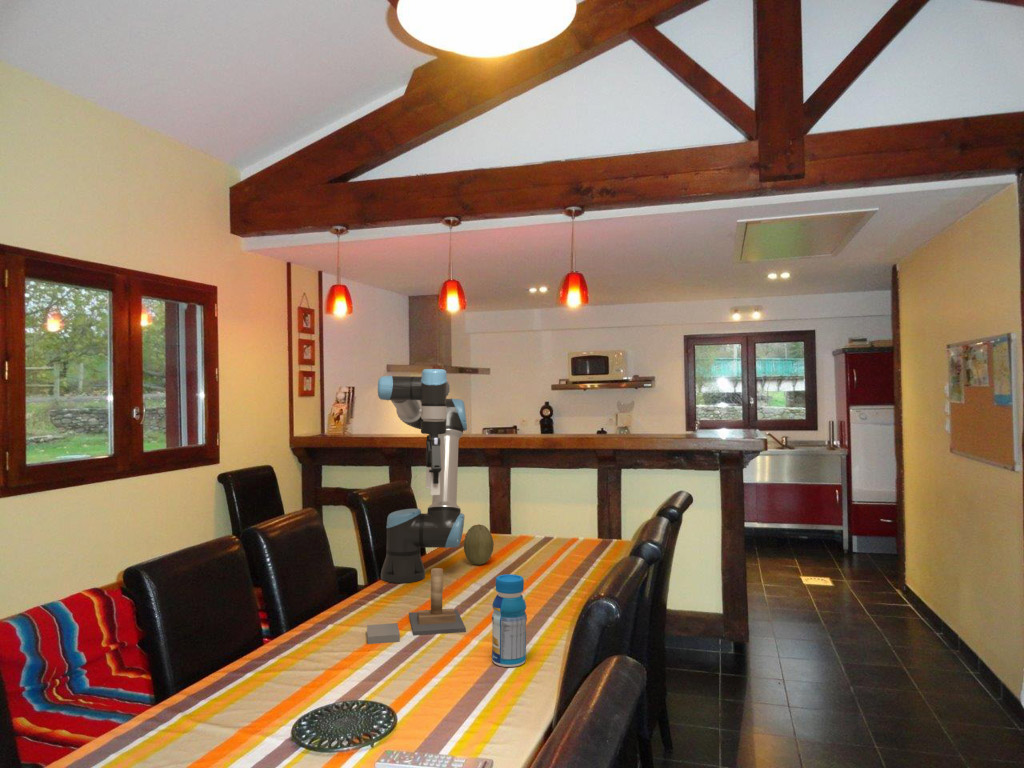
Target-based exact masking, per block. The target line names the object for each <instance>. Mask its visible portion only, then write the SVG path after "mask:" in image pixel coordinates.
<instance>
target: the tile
mask: <svg viewBox="0 0 1024 768" xmlns="http://www.w3.org/2000/svg"><path fill="white" fill-rule="evenodd" d="M366 626H367V627H366V635H367V636H366V637H367V645H373V644H374V645H376V644H389V643H401V637H400V636H401V635H400V629H399V623H398V622H391V623H378V624H377V623H376V624H367V625H366Z"/></svg>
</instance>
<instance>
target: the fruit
mask: <svg viewBox="0 0 1024 768" xmlns="http://www.w3.org/2000/svg"><path fill="white" fill-rule="evenodd" d="M494 546H495V545H494V539H493V536H492V533H491V531H490V530H489V529H488V527H487V526H486V525H483V524H479V523H478V524H474V525H472V526H471V527H470V528H469V529H468V530H467V532H466V533H465V536H464V541H463V551H464V552H463V553H464V556H465V557H466V559H467V561H468V562H470V563H471V564H473V565H480V566H481V565H484V564H486V563H487V562H488V561H489V560H490V558H491V557H492V554H493V551H494Z"/></svg>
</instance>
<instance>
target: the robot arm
mask: <svg viewBox="0 0 1024 768" xmlns="http://www.w3.org/2000/svg"><path fill="white" fill-rule="evenodd" d="M447 374H448V373H447V371H446V370H445V369H440V368H424V369H423V370H422V371H421V376H417V375H416V376H410V375H408V376H406V375H405V376H403V375H402V376H401V375H395V376H394V375H385V376H384V375H382V376H380V377H379V378H378V380H377V396H378V399H380V400H382V401H391V403H392V404H393V406H394V407H395V410H396V415H397V416H398V419H400V421H401V422H403V423H404V424H406V425H407V426H409V427H412V428H414V429H417V430H418V429H419V430H420V434H424V435H426V440H425V444H426V447H425V450H426V451H425V461H424V463H425V466H426V467H425V489H429V490H430V491H429V492H430V493H429V494H430V496H432V498H431V502H432V503H431V504H430V505H429V506H428V507H427V513H422V510H421V508H405V509H399V510H396V511H392V512H391V513H389V514H388V516H387V519H386V526H385V527H386V556H385V558H384V561H383V564H382V568H381V570H380V571H381V572H380V579H381V580H382V581H384V582H388V583H395V584H404V583H405V584H407V583H413V582H418V581H422V580H424V579H425V577H426V569H425V566H424V562H423V560H422V556H421V548H429V549H430V548H434V549H435V548H437V549H439V548H440V549H443V548H444V549H448V548H451V549H452V548H458V547H459V546H460V544H461V541H462V538H463V531H464V525H465V514H464V513H462V511H461V507H460V506H458V504H457V502H458V497H457V496H458V494H457V493H458V470H459V469H458V468H459V467H458V466H459V440H460V438H461V439H462V437H463V436H464V432H465V431H467V430H468V424H467V415H466V407H465V405H466V404H465V401H464V400H462V399H459V398H452V397H451V398H447V397H448V396H449V393H450V390H451V389H450V384H449V382H448V377H447V376H448V375H447Z"/></svg>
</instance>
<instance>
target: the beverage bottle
mask: <svg viewBox="0 0 1024 768" xmlns="http://www.w3.org/2000/svg"><path fill="white" fill-rule="evenodd" d="M524 587H525V581H524V577H523V576H522V575H518V574H514V573H513V574H511V573H510V574H509V573H508V574H500V575H498V576H496V577H495V591H496V593H497V594H496V595H495V597H494V599H493V603H492V606H491V608H492V610H493V612H492V613H491V622H492V623H491V624H492V625H491V628H492V629H491V630H492V631H491V634H492V635H491V642H492V643H491V652H492V653H491V660H492V662H493V663H494V664H495V665H497V666H499V667H503V668H504V667H505V668H515V667H519V666H521V665H523V664H524V663H526V660H527V654H526V653H527V652H526V651H527V649H526V648H527V647H526V646H527V645H526V644H527V621H528V614H527V612H526V609H527V603H526V599H525V598H524V596H523V593H524Z"/></svg>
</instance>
